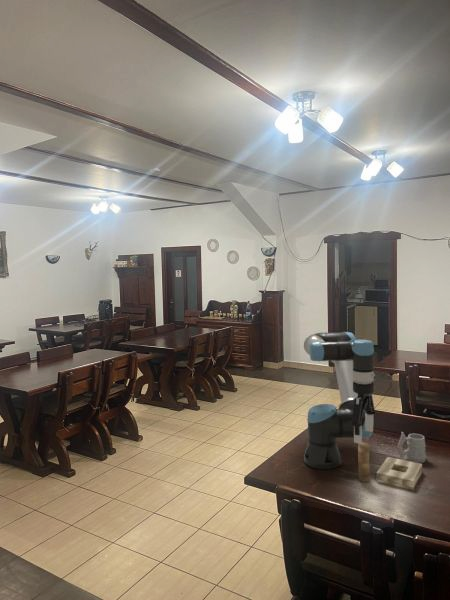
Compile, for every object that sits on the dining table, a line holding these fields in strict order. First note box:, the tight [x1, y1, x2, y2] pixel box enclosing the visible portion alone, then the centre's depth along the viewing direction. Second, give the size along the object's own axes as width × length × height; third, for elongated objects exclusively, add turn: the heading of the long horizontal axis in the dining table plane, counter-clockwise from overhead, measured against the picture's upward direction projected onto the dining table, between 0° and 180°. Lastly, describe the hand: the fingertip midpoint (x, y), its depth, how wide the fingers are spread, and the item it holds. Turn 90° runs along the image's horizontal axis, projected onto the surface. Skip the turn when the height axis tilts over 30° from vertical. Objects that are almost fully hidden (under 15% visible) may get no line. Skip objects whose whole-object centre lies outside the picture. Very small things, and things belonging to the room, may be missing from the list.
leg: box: [357, 441, 370, 483], centre depth 172 cm, size 4×4×14 cm
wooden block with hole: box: [376, 456, 423, 491], centre depth 174 cm, size 13×16×4 cm
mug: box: [396, 431, 427, 464], centre depth 188 cm, size 8×12×12 cm, turn 95°
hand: (363, 436), depth 171 cm, fingers open, 13 cm apart
